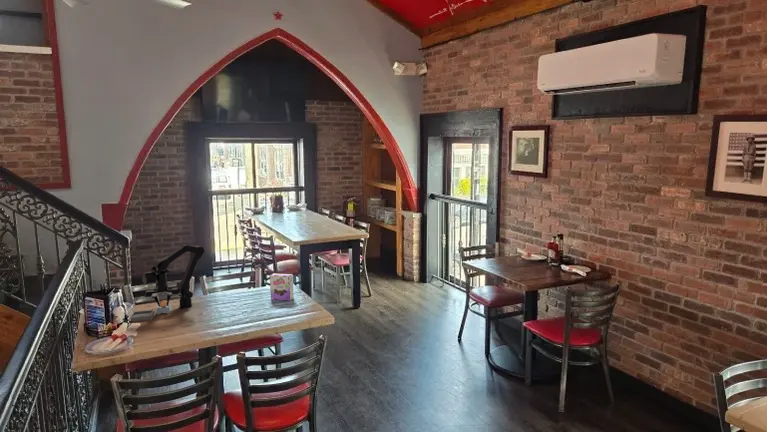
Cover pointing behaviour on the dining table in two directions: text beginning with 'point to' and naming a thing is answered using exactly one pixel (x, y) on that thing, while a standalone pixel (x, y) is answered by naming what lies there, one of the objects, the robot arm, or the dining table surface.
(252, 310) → the dining table surface
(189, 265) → the robot arm
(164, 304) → the ball
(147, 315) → the tray
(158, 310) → the light blue storage bin
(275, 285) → the candy box
